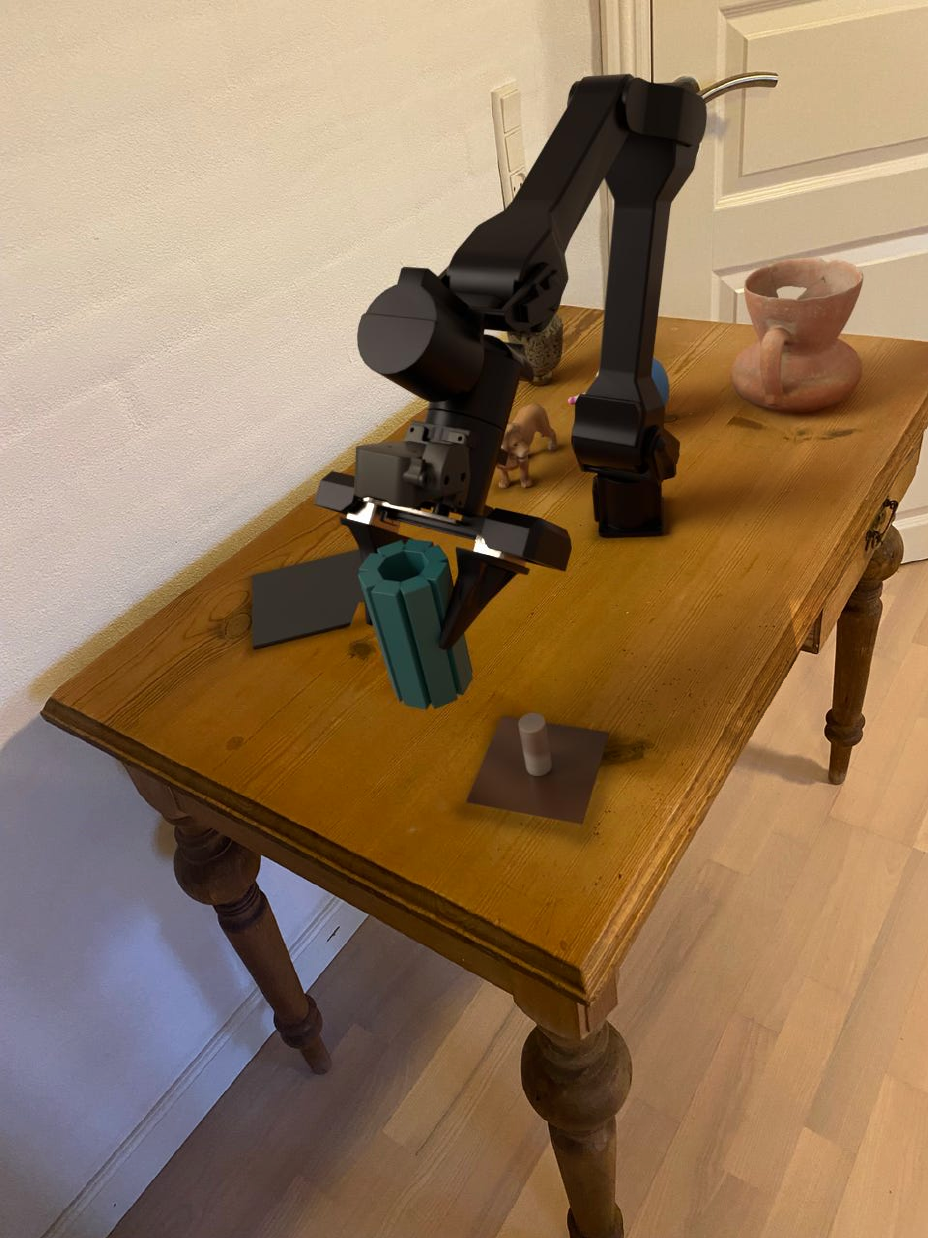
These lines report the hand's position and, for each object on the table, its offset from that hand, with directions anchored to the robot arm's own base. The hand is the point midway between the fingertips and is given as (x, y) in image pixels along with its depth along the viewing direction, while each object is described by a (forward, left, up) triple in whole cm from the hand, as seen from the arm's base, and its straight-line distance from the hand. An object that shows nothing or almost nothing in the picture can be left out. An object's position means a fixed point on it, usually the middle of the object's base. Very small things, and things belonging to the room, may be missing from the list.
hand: (406, 636), depth 63 cm
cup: (-1, -66, -14) cm, 67 cm away
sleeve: (-1, -1, -6) cm, 6 cm away
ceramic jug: (-32, -57, -14) cm, 67 cm away
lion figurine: (-2, -43, -14) cm, 45 cm away
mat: (+18, -21, -13) cm, 31 cm away
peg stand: (-8, +1, -13) cm, 16 cm away
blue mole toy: (-12, -53, -14) cm, 56 cm away
